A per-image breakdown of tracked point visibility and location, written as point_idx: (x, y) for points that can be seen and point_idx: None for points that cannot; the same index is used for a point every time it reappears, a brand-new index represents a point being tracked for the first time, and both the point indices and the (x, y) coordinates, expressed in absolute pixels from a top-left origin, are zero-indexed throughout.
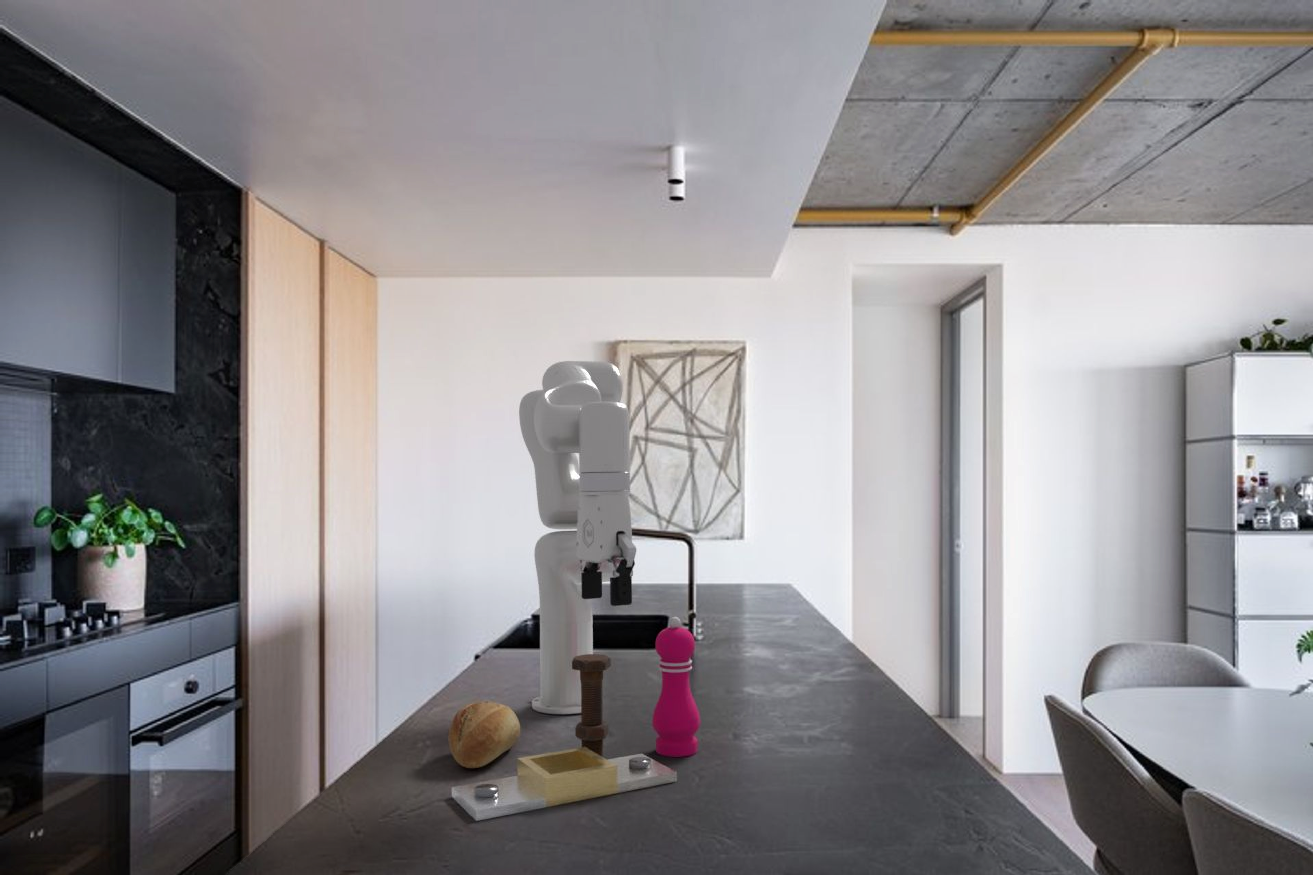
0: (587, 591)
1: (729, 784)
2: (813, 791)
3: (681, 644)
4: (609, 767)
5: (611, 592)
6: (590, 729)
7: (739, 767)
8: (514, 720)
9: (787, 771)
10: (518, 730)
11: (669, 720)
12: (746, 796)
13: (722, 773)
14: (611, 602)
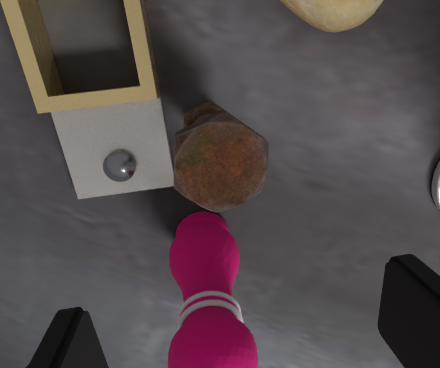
0: (407, 296)
1: (53, 243)
2: (6, 307)
3: (168, 365)
4: (34, 99)
5: (29, 366)
6: (184, 120)
7: (112, 273)
8: (303, 1)
9: None
10: (299, 15)
11: (177, 244)
12: (4, 244)
13: (96, 250)
14: (59, 316)
